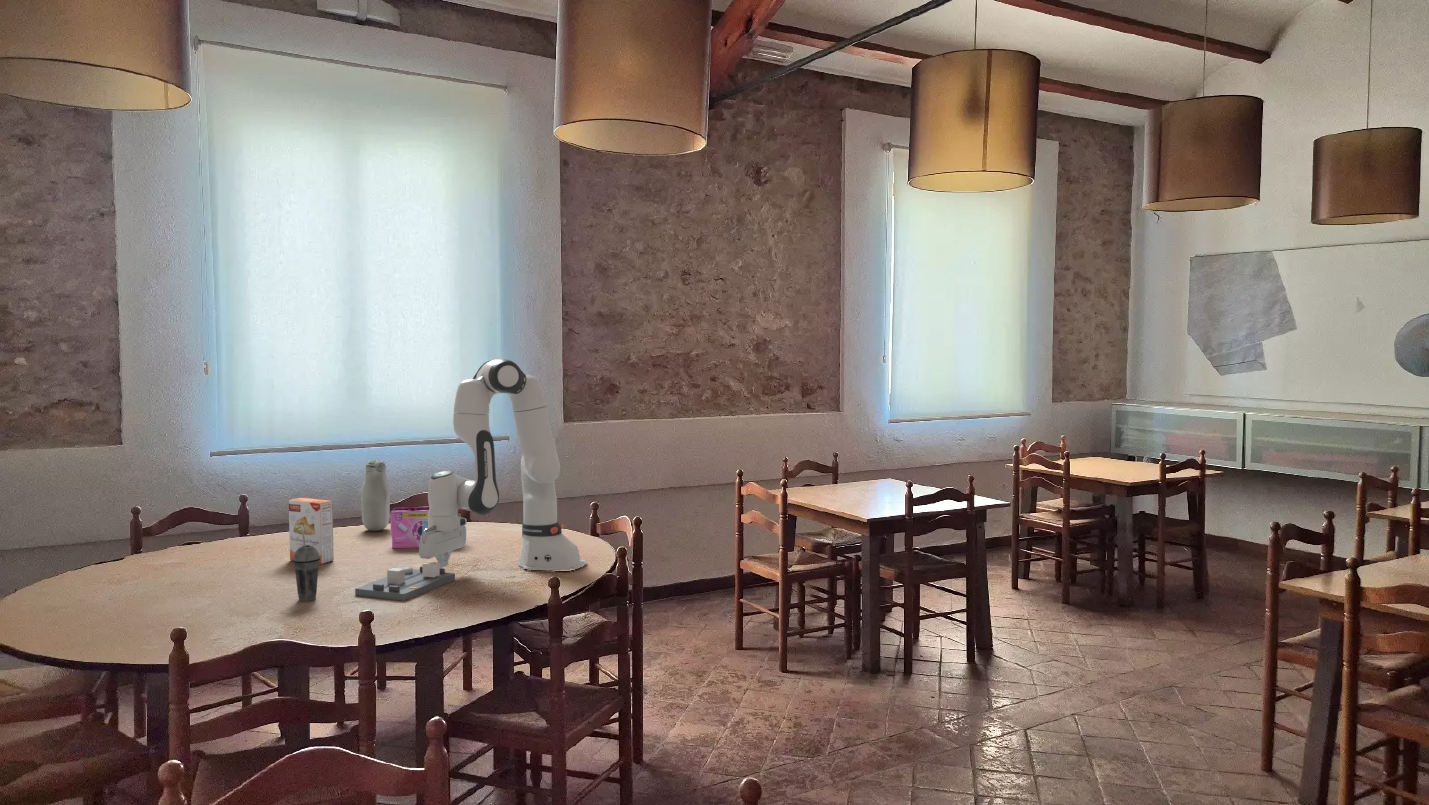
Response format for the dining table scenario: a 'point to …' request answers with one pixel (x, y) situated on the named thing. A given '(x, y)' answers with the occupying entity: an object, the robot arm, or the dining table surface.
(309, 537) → the cracker box
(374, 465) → the glass bottle
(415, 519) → the gum box
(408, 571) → the console
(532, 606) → the dining table surface
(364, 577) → the dining table surface
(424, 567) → the fader
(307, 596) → the beverage cup
